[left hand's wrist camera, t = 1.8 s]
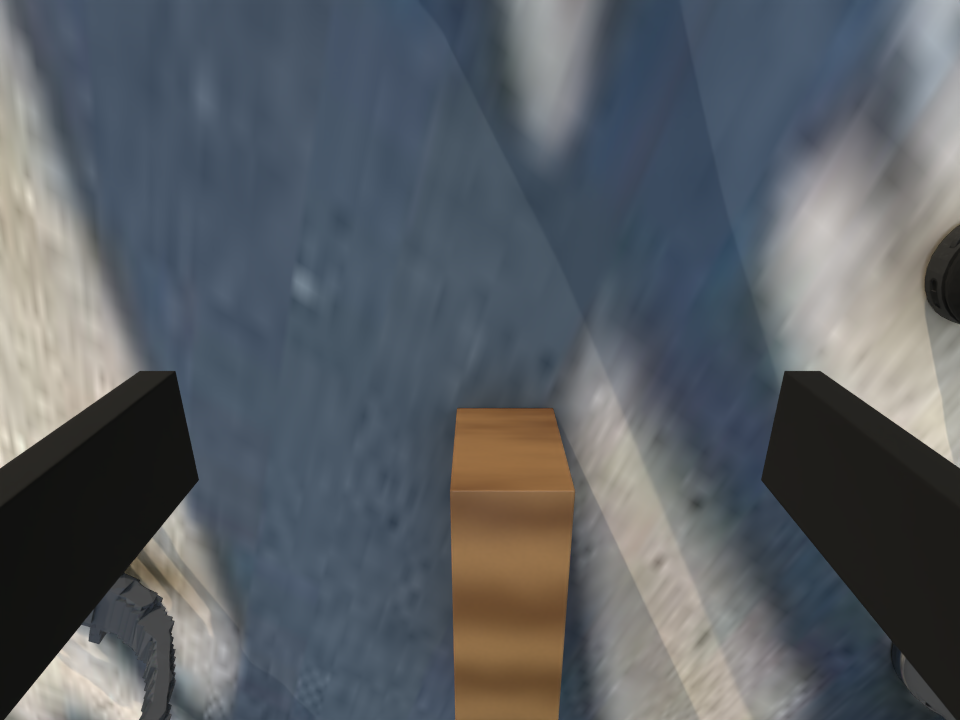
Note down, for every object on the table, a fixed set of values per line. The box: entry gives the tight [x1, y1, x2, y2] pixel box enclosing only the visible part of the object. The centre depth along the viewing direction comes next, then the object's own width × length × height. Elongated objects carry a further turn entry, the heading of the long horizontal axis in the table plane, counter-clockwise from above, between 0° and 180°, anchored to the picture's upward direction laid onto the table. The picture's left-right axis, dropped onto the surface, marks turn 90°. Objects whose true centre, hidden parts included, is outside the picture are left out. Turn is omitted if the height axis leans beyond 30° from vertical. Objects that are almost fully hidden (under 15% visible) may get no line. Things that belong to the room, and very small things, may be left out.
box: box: [450, 408, 575, 720], centre depth 44 cm, size 30×7×11 cm, turn 0°
